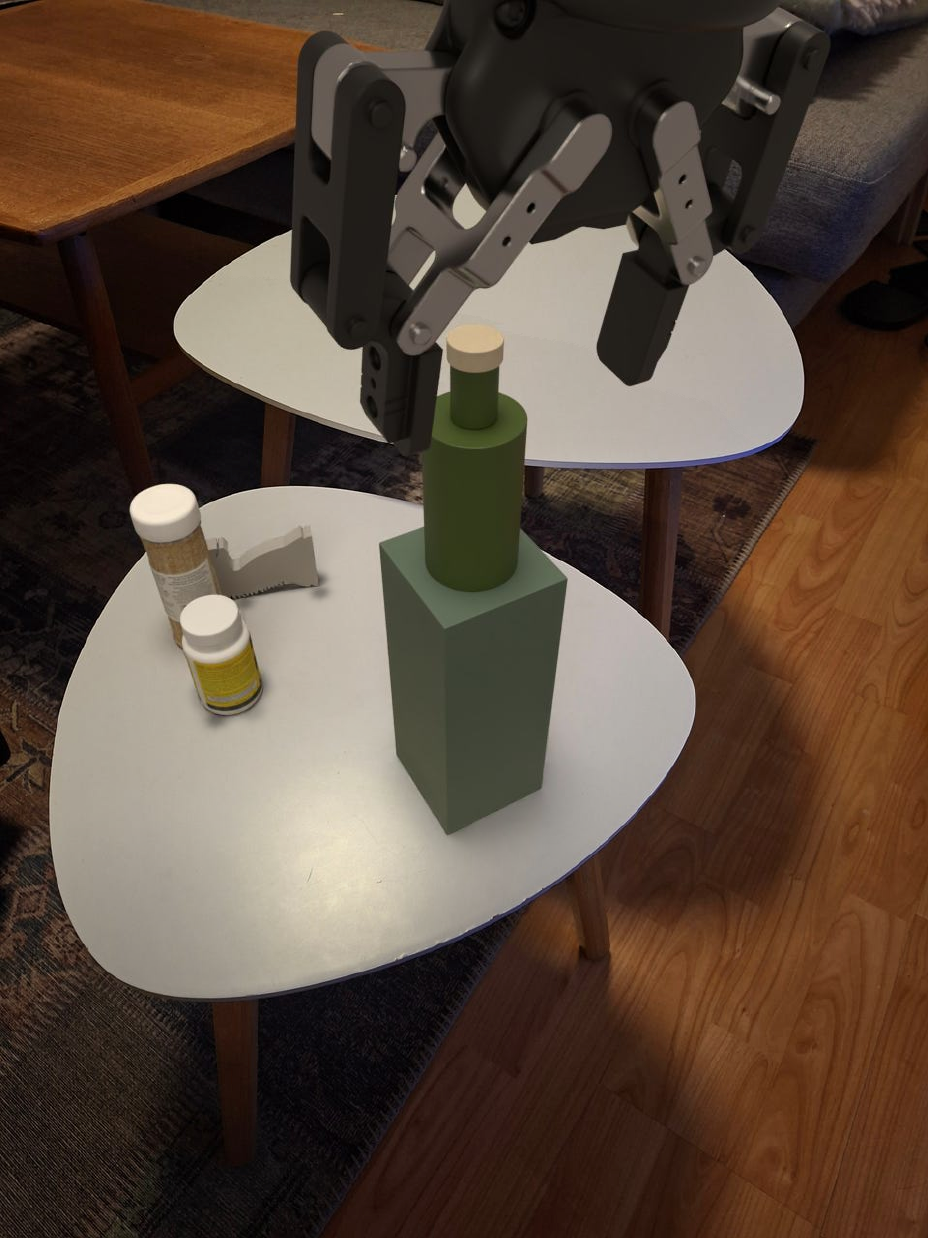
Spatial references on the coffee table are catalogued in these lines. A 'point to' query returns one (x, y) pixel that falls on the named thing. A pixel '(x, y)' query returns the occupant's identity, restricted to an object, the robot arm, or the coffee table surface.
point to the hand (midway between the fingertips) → (516, 402)
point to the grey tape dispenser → (265, 564)
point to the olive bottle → (474, 468)
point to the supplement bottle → (220, 655)
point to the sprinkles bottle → (174, 548)
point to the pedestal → (471, 678)
